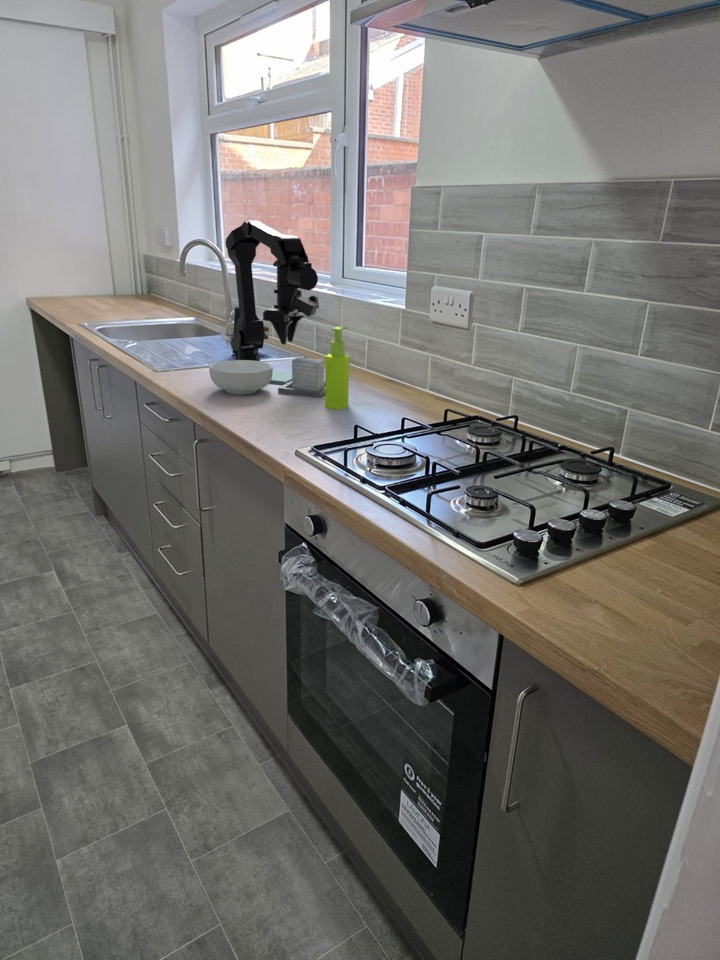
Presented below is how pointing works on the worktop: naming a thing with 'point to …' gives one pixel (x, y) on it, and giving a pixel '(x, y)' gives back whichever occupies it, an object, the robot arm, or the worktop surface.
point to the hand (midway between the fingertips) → (287, 342)
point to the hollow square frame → (300, 391)
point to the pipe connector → (237, 320)
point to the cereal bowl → (241, 375)
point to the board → (281, 377)
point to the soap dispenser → (337, 373)
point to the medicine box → (308, 374)
